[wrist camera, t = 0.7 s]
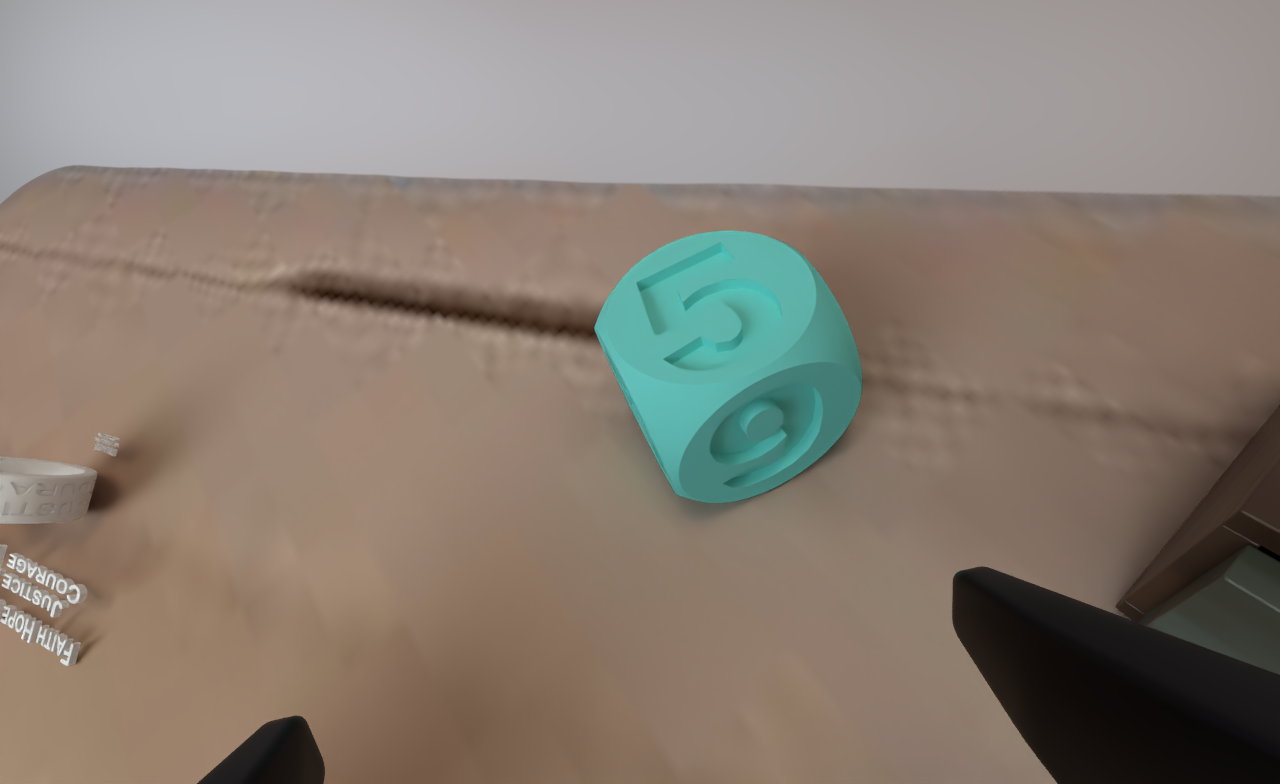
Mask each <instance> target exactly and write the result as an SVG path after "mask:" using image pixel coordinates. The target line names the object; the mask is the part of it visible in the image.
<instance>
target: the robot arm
mask: <svg viewBox="0 0 1280 784" xmlns="http://www.w3.org/2000/svg"><path fill="white" fill-rule="evenodd" d="M952 620H953V626H954V629H955V632H956V634H957V636H958V638H959V639H960V641H961V643H962V644H963V646H964V647H965V649H966V650H967V652H968V653H969V655H970V657H971V658H972V660H973V661H974V663H975V664H976V666H977V667H978V669H979V671H980V672H981V674H982V675H983V677H984V678H985V680H986V682H987V683H988V685H989V686H990V688H991V689H992V691H993V692H994V694H995V696H996V697H997V699H998V700H999V702H1000V703H1001V705H1002V706H1003V708H1004V710H1005V711H1006V713H1007V714H1008V716H1009V717H1010V719H1011V720H1012V722H1013V724H1014V725H1015V727H1016V728H1017V729H1018V731H1019V732H1020V734H1021V735H1022V737H1023V738H1024V740H1025V741H1026V743H1027V744H1028V745H1029V747H1030V748H1031V749H1032V751H1033V752H1034V753H1035V755H1036V756H1037V757H1038V759H1039V760H1040V761H1041V763H1042V764H1043V765H1044V766H1045V768H1046V769H1047V770H1048V772H1049V773H1050V774H1051V775H1052V777H1053V778H1054V779H1055V781H1056V782H1057V783H1058V784H1280V675H1279V674H1276V673H1273V672H1271V671H1268V670H1265V669H1263V668H1260V667H1257V666H1254V665H1252V664H1249V663H1246V662H1244V661H1241V660H1238V659H1235V658H1233V657H1230V656H1227V655H1225V654H1222V653H1219V652H1216V651H1214V650H1211V649H1208V648H1206V647H1203V646H1200V645H1197V644H1195V643H1192V642H1189V641H1187V640H1184V639H1181V638H1178V637H1176V636H1173V635H1170V634H1167V633H1165V632H1162V631H1159V630H1157V629H1154V628H1151V627H1148V626H1146V625H1143V624H1140V623H1138V622H1135V621H1132V620H1129V619H1127V618H1124V617H1121V616H1119V615H1116V614H1113V613H1110V612H1108V611H1105V610H1102V609H1100V608H1097V607H1094V606H1091V605H1089V604H1086V603H1083V602H1081V601H1078V600H1075V599H1072V598H1070V597H1067V596H1064V595H1062V594H1059V593H1056V592H1053V591H1051V590H1048V589H1045V588H1043V587H1040V586H1037V585H1034V584H1032V583H1029V582H1026V581H1024V580H1021V579H1018V578H1015V577H1013V576H1010V575H1007V574H1005V573H1002V572H999V571H996V570H994V569H991V568H988V567H976V568H971V569H967V570H962V571H959V572H957V573H956V574H955V576H954V578H953V601H952ZM324 776H325V767H324V761H323V758H322V756H321V753H320V751H319V749H318V746H317V744H316V742H315V739H314V737H313V735H312V732H311V730H310V728H309V725H308V723H307V721H306V720H305V719H304V718H303V717H301V716H291V717H287V718H282V719H277V720H273V721H270V722H268V723H266V724H264V725H263V726H262V727H261V728H259V729H258V730H257V731H256V732H255V733H254V734H253V735H252V736H250V737H249V738H248V739H247V740H246V741H245V742H244V743H242V744H241V745H240V746H239V747H238V748H237V749H236V750H235V751H233V752H232V753H231V754H230V755H229V756H228V757H227V758H225V759H224V760H223V761H222V762H221V763H220V764H219V765H218V766H216V767H215V768H214V769H213V770H212V771H211V772H210V773H208V774H207V775H206V776H205V777H204V778H203V779H202V780H201V781H199V782H198V783H197V784H324Z"/></svg>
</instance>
